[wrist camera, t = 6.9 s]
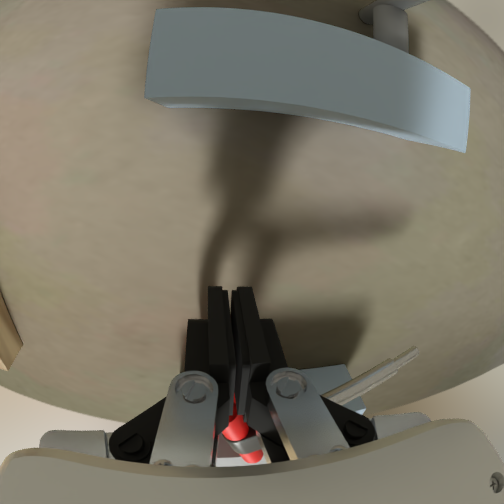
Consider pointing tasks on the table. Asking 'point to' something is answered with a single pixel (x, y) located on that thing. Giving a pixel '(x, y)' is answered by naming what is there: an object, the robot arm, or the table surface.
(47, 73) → the table surface
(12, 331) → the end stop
